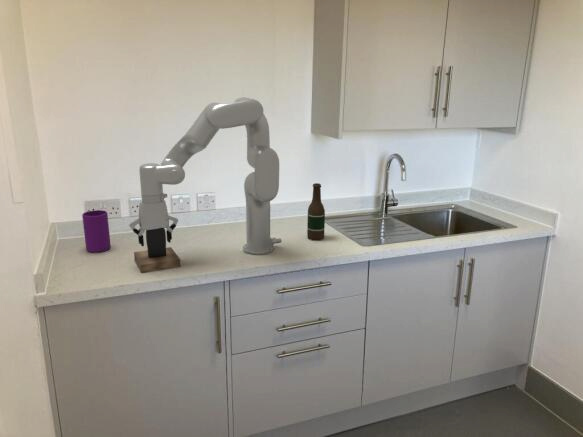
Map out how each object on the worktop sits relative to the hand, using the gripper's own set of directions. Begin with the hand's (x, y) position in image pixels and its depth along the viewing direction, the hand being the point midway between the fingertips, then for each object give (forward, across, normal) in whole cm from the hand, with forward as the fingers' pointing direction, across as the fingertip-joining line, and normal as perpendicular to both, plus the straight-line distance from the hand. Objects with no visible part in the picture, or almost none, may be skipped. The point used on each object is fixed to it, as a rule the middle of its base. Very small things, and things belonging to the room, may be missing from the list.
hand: (155, 243), depth 181 cm
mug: (+8, +18, -28) cm, 34 cm away
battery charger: (+5, 0, 0) cm, 5 cm away
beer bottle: (+8, -68, -1) cm, 68 cm away
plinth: (+8, 0, 0) cm, 8 cm away
